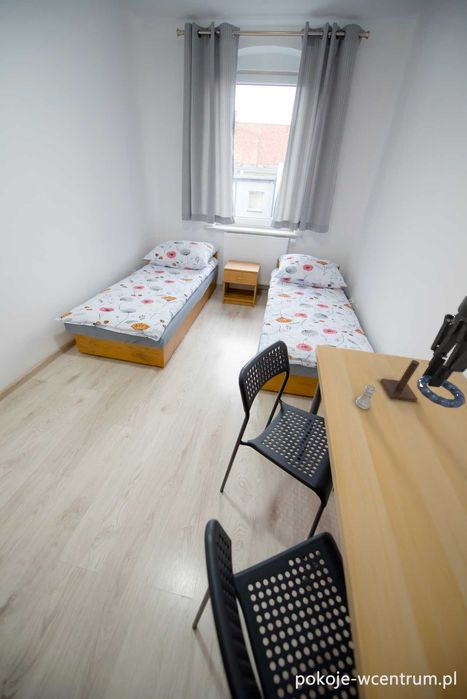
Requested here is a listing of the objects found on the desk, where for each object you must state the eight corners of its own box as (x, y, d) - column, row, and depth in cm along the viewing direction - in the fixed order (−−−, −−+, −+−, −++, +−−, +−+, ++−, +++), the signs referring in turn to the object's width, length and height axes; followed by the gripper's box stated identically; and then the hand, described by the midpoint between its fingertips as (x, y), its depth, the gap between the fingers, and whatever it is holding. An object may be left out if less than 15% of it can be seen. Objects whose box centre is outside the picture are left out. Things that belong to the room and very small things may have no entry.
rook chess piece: (352, 403, 92) (361, 385, 88) (359, 398, 95) (368, 380, 90) (364, 411, 90) (374, 394, 85) (371, 406, 92) (381, 388, 87)
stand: (403, 384, 104) (422, 355, 96) (415, 401, 96) (436, 372, 88) (380, 381, 103) (396, 352, 96) (390, 398, 96) (408, 369, 88)
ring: (445, 381, 74) (449, 375, 73) (471, 411, 66) (476, 405, 65) (408, 378, 74) (411, 372, 72) (430, 407, 65) (434, 402, 64)
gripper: (448, 284, 65) (402, 362, 79) (496, 316, 53) (432, 402, 66) (479, 288, 66) (428, 365, 79) (534, 320, 53) (462, 405, 67)
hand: (430, 381), depth 73 cm, fingers closed on ring, 2 cm apart
